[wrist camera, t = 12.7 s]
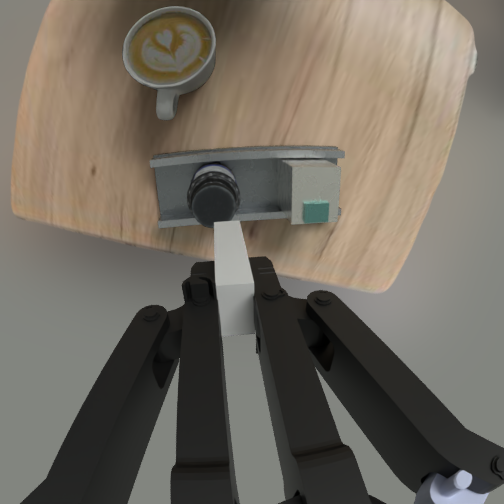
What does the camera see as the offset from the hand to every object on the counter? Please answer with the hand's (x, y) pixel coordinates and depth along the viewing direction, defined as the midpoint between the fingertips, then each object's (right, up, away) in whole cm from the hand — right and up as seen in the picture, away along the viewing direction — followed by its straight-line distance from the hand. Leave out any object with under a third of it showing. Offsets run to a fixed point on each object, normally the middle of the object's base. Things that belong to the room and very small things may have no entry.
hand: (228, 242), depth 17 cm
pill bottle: (-4, +9, +22) cm, 24 cm away
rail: (+1, +10, +23) cm, 25 cm away
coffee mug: (-9, +24, +15) cm, 29 cm away
